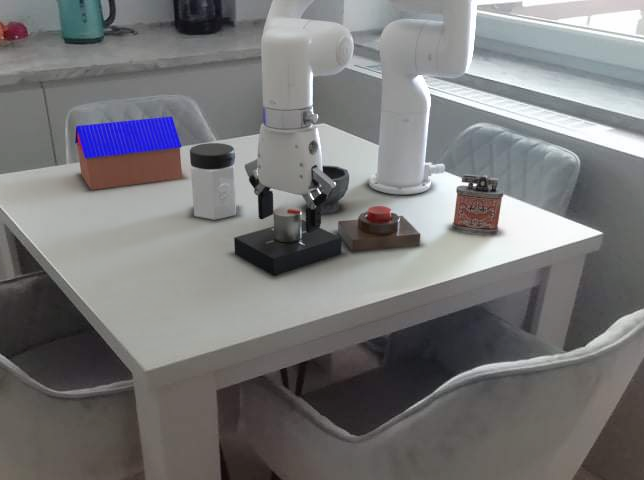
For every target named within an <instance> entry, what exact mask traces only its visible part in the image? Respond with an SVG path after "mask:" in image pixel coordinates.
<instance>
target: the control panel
mask: <svg viewBox="0 0 644 480" xmlns="http://www.w3.org/2000/svg"><path fill="white" fill-rule="evenodd" d="M342 240H343V239H342V237H341V236H340V235H337V234H334V233H332V232H331V231H329V230H326V229H324V228H321V227H320V228H318V229H316V230H314V231H313V232H311V233H309V232H306V220H304V219H302V238H301V239H300V240H298V241H295V242H280V241H277V240H275V239H274V225H273V226H271V227H267V228H262V229H259V230H255V231H252V232H248V233H245V234H241V235H238V236H234V237H233V241H234V255H236V256H237V257H239V258H241V259H242V260H244V261H246V262H248V263H249V264H252V265H253V266H255V267H257V268H258V269H260V270H262V271H264V272H265V273H268V274H269V275H270V276H272V277H276V276H279V275H282V274H284V273H287V272H290V271H294V270H297V269H300V268H303V267H307V266H309V265H312V264H315V263H318V262H321V261H324V260H327V259H332V258H334V257H337V256H340V255H342Z"/></svg>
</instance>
